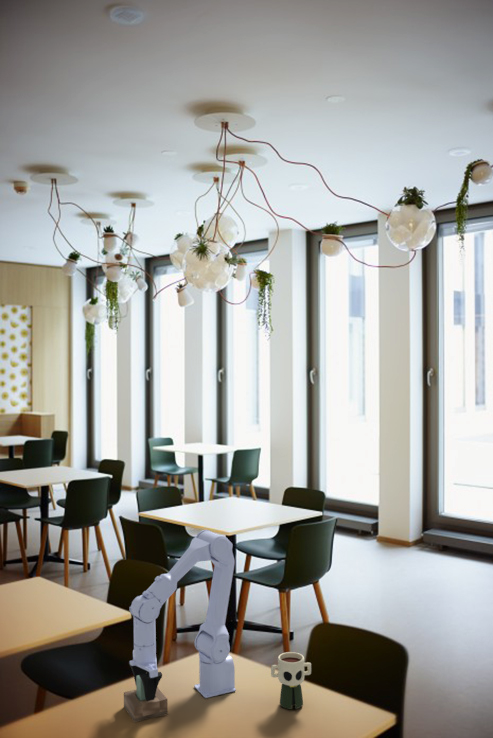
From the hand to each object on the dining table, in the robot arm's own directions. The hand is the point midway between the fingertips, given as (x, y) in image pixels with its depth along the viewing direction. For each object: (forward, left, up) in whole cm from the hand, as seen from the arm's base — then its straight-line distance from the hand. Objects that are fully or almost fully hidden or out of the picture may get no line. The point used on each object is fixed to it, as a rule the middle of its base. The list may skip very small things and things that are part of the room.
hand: (145, 693), depth 192 cm
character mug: (-36, +16, -5) cm, 39 cm away
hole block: (0, 0, -4) cm, 4 cm away
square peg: (0, 0, -3) cm, 4 cm away
